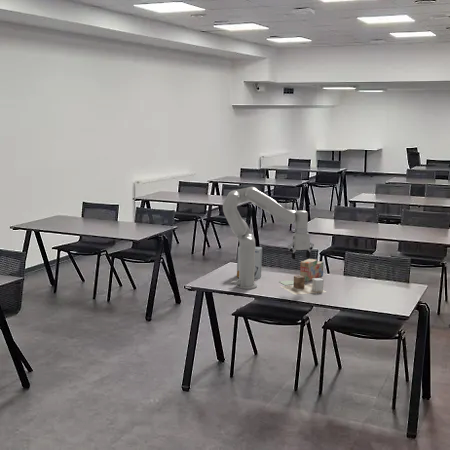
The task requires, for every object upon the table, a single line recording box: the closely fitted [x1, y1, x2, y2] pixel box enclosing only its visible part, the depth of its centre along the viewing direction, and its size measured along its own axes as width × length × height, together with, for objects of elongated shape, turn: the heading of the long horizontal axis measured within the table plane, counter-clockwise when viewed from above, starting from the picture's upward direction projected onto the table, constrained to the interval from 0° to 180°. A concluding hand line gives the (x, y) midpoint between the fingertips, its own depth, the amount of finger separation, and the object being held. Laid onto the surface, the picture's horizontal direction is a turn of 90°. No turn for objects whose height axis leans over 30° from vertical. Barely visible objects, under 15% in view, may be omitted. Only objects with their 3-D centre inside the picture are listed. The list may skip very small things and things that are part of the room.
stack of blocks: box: [299, 258, 324, 282], centre depth 406 cm, size 21×6×12 cm, turn 145°
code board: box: [279, 283, 327, 296], centre depth 376 cm, size 22×20×1 cm
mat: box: [278, 279, 294, 286], centre depth 391 cm, size 12×9×1 cm
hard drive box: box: [236, 246, 263, 280], centre depth 404 cm, size 16×8×20 cm, turn 77°
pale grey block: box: [311, 277, 324, 292], centre depth 374 cm, size 5×5×7 cm
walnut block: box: [293, 274, 306, 289], centre depth 379 cm, size 5×5×7 cm
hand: (300, 258), depth 377 cm, fingers open, 9 cm apart
